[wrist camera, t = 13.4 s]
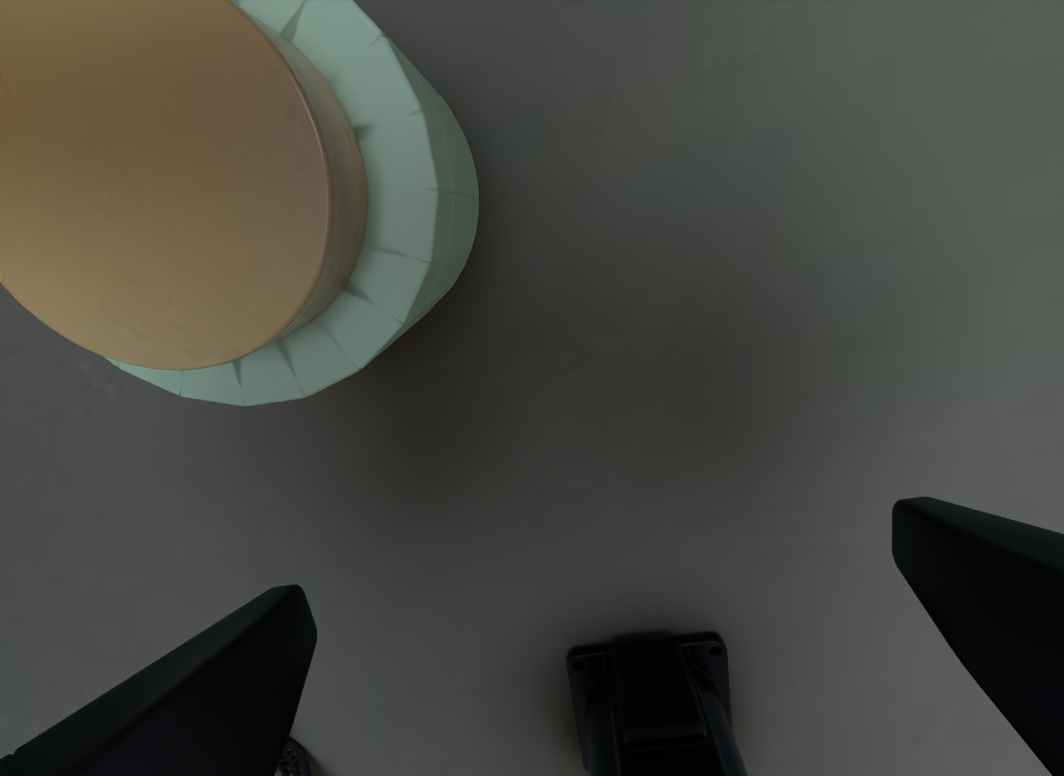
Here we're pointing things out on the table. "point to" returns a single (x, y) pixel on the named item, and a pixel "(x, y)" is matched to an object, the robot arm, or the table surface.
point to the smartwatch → (294, 760)
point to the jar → (392, 217)
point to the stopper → (171, 179)
